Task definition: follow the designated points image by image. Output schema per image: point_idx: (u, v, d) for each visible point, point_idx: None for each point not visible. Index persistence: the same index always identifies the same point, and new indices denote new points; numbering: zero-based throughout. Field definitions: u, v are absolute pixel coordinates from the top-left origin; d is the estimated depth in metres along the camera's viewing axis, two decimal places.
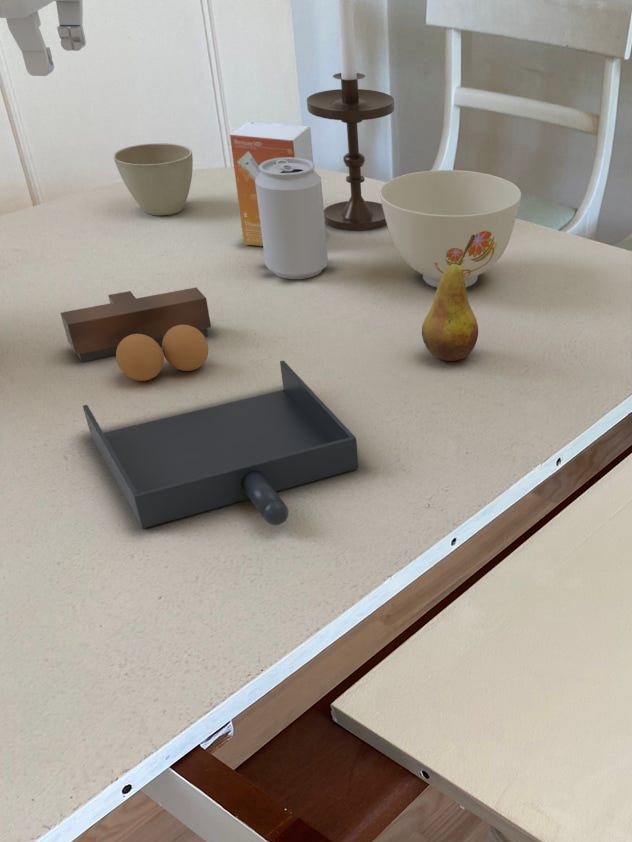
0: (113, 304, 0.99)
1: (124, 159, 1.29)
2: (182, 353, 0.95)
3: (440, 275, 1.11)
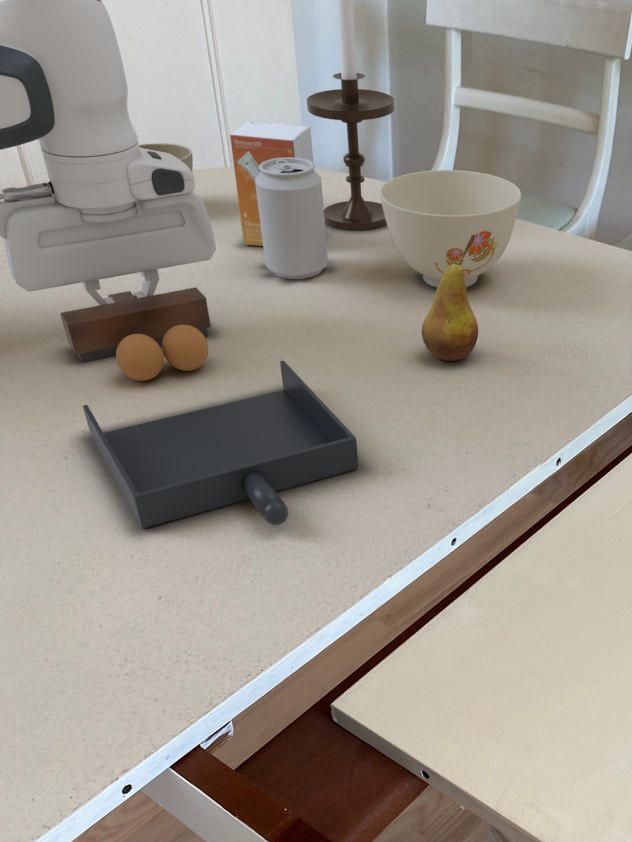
0: (113, 304, 0.99)
1: None
2: (182, 353, 0.95)
3: (440, 275, 1.11)
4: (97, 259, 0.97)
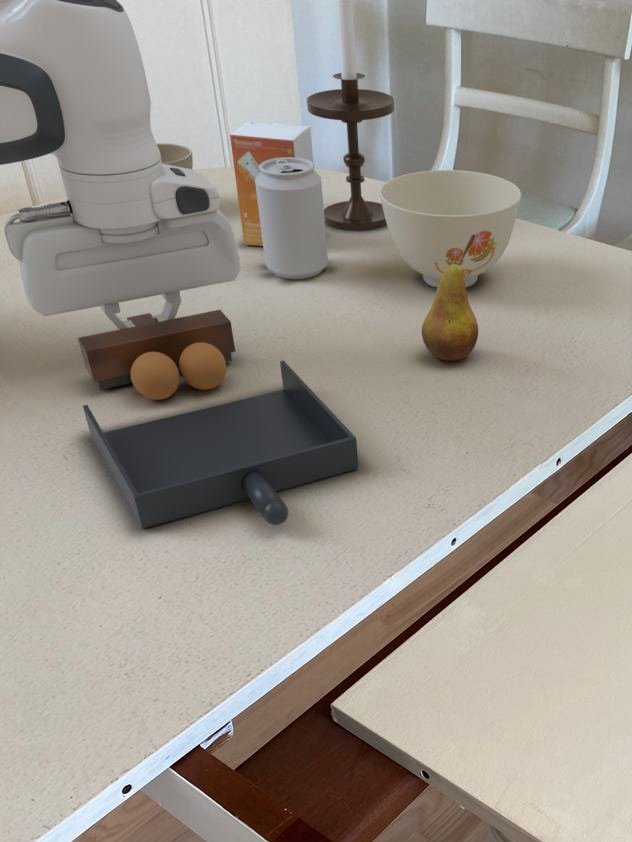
0: (133, 328, 0.94)
1: None
2: None
3: (440, 275, 1.11)
4: (117, 281, 0.92)
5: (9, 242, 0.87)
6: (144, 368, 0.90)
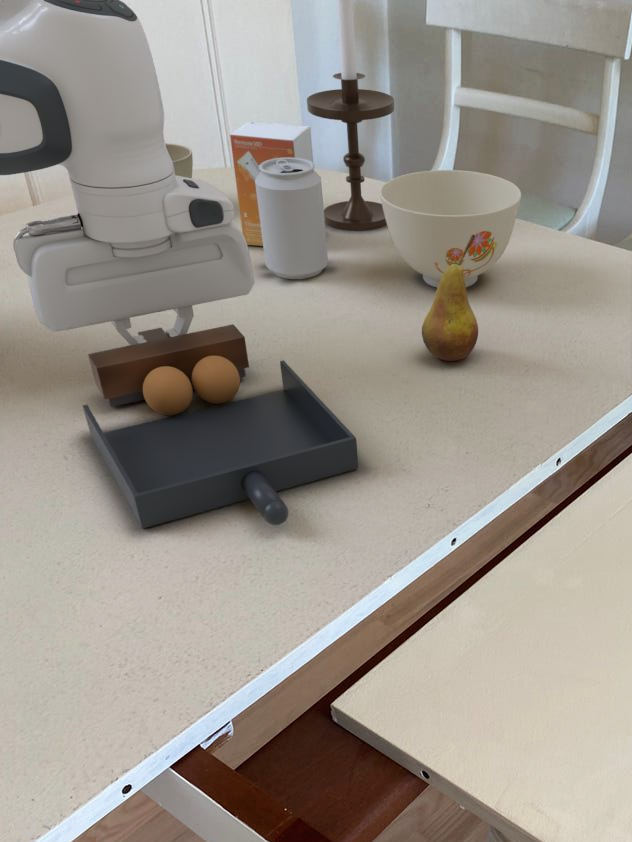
0: (145, 344, 0.91)
1: None
2: None
3: (440, 275, 1.11)
4: (129, 296, 0.89)
5: (18, 257, 0.84)
6: (163, 411, 0.89)
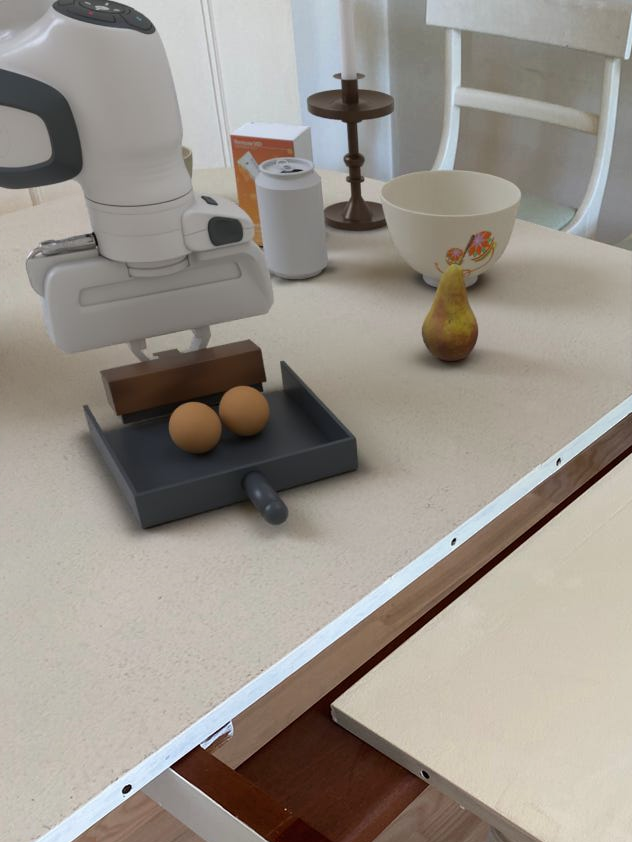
0: (158, 360, 0.88)
1: None
2: (242, 431, 0.86)
3: (440, 275, 1.11)
4: (144, 316, 0.86)
5: (30, 277, 0.81)
6: None
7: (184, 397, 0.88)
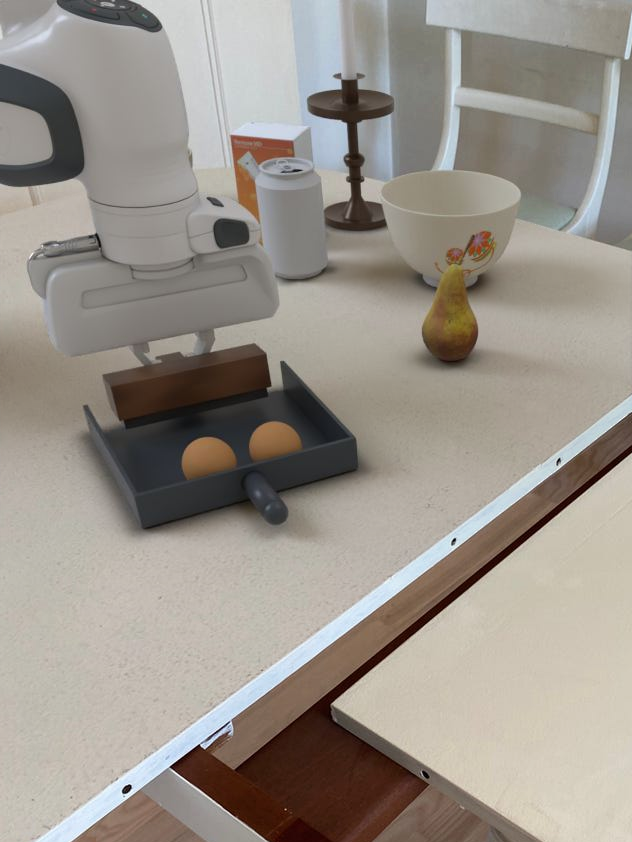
0: (161, 364, 0.86)
1: None
2: None
3: (440, 275, 1.11)
4: (148, 319, 0.84)
5: (32, 279, 0.79)
6: None
7: (188, 402, 0.87)
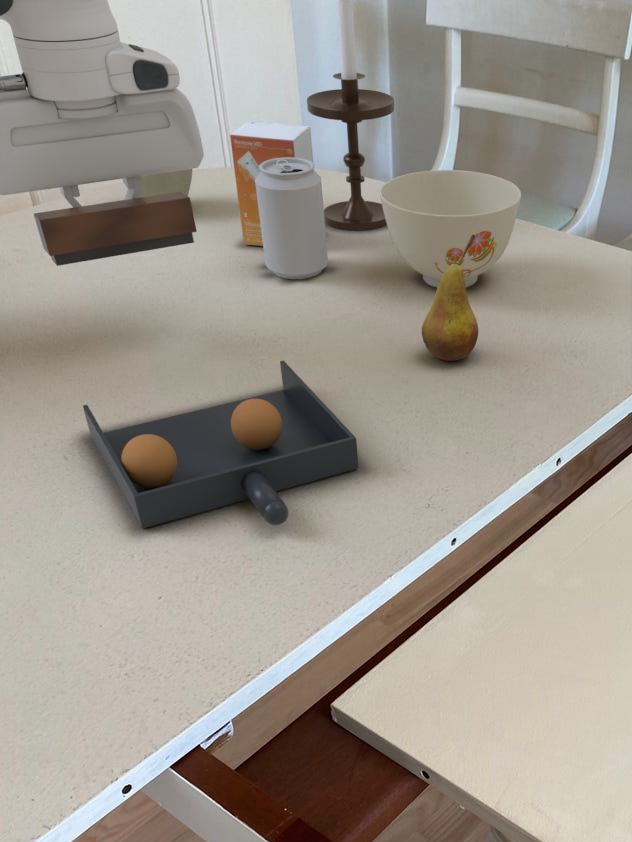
0: (90, 205, 0.92)
1: None
2: None
3: (440, 275, 1.11)
4: (76, 161, 0.90)
5: None
6: (154, 455, 0.78)
7: (115, 241, 0.92)
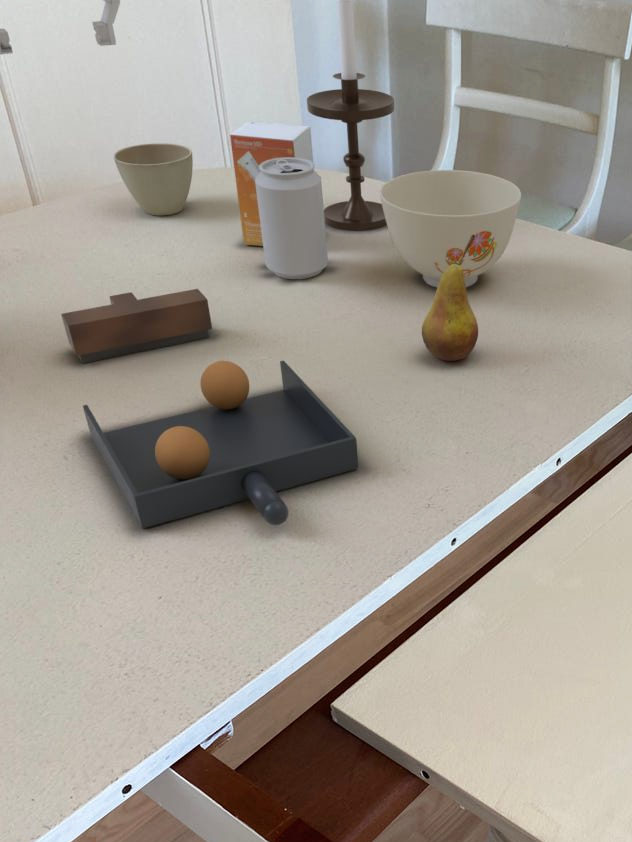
0: (114, 305, 0.99)
1: (124, 159, 1.29)
2: (208, 366, 0.89)
3: (440, 275, 1.11)
4: None
5: None
6: (204, 456, 0.81)
7: (137, 341, 0.99)
